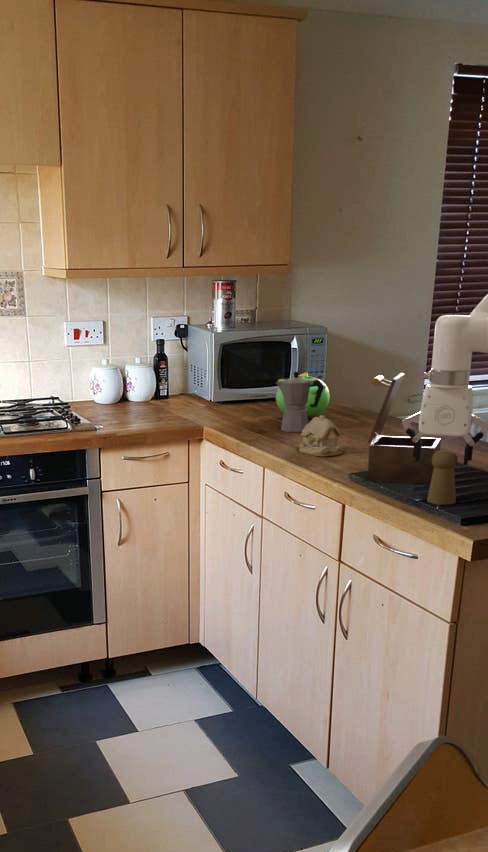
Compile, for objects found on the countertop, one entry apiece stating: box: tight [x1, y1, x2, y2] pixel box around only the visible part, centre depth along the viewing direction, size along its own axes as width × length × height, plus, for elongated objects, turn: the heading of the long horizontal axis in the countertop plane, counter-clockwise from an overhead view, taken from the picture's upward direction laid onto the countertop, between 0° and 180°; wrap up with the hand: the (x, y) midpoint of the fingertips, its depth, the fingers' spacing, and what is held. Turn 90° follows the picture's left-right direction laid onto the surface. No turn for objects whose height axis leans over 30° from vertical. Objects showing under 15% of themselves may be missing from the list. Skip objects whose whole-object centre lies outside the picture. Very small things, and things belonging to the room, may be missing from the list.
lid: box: [367, 372, 405, 445], centre depth 205 cm, size 15×13×5 cm
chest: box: [367, 435, 442, 486], centre depth 206 cm, size 15×13×9 cm
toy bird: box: [275, 372, 331, 419], centre depth 295 cm, size 18×17×15 cm
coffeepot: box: [275, 371, 324, 433], centre depth 272 cm, size 15×9×18 cm, turn 63°
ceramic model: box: [298, 414, 344, 457], centre depth 239 cm, size 14×11×10 cm
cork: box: [426, 450, 459, 506], centre depth 184 cm, size 6×6×11 cm
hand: (441, 462), depth 183 cm, fingers open, 9 cm apart
